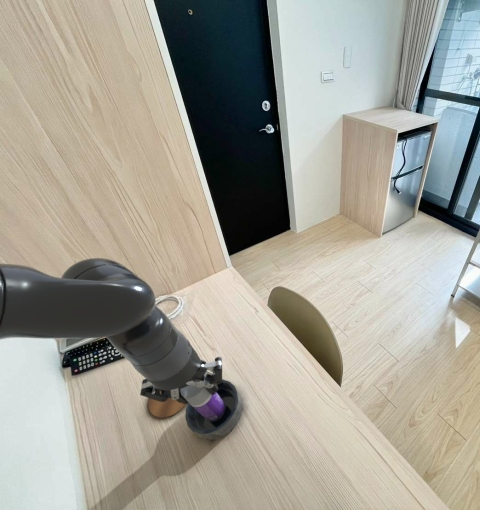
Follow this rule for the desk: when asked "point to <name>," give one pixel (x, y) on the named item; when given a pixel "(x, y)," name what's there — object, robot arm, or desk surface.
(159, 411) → the coaster
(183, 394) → the container
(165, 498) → the desk surface
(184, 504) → the desk surface
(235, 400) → the bowl
